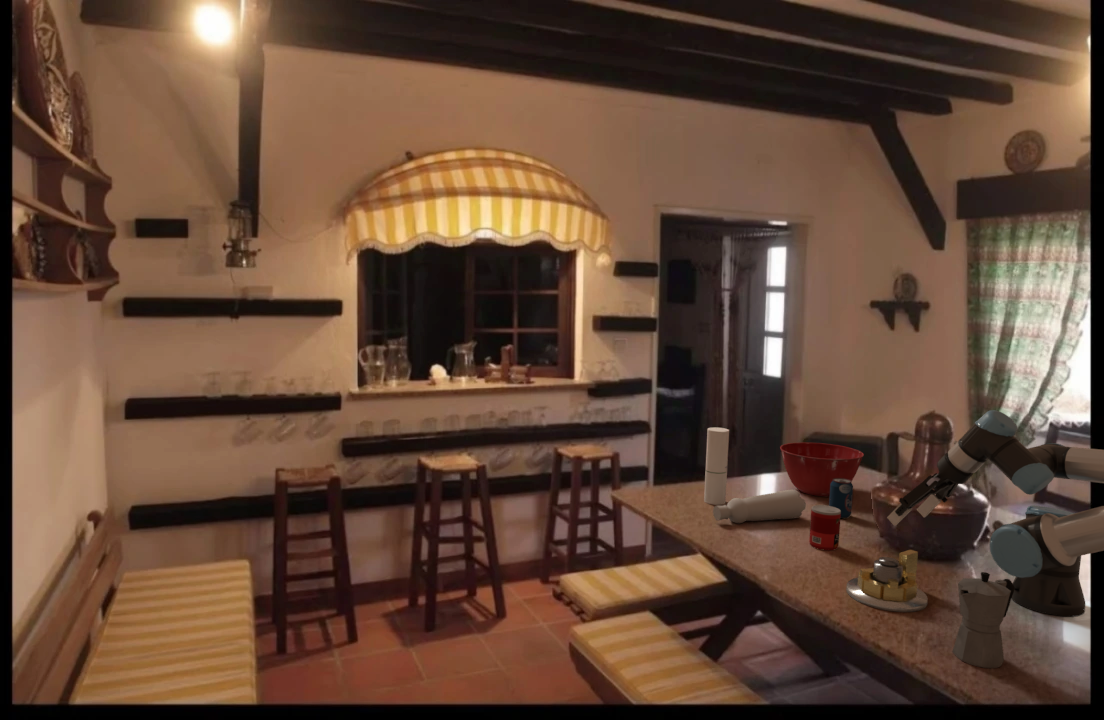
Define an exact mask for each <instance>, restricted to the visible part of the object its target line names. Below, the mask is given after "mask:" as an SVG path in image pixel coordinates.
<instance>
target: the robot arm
mask: <svg viewBox="0 0 1104 720" xmlns="http://www.w3.org/2000/svg"><path fill="white" fill-rule="evenodd" d="M1017 431H1018V426H1017V424H1016V423H1015V422H1014V420H1013V419H1012V418H1011V417H1010V416H1008V415H1007V414H1005V413H1004V412H1001V411H999V410H996V409H995V410H994V409H992V410H991V409H990V410H988V411H986V412H985V413H984V414H983V415H982V416H981V417H980V418H978V420H976V421H975V422H974V423H973V425H972V426H971V427H970V428H969V429H968V430H967V431H966V432H965V433H964V434H963V435H962V436H961V437H960V438H959V439H958V440H955V441H953V446H951V448H949V449H948V451H947V452H946V453H944V455H943V456H942V457H941V458H940V459H939V460H938V461H937V464H936V467H937V468H938V473H937V472H935V473H934V474H933V475H928V476H927V477H926V478H925V479H923V481H921V483H919V484H918V485H917V486H916V487H914V488H913V489H912V490H910V491H909V492H908V493H906V495H904V496H903V497H900V498H899V500H898V502H899V505H898V506H896V507H895V508H894V510H892V512H891V513H889V515H888V516H887V517H886V519H887V520H889V522H890V523H891V524H892V525H893V526H894V527H896V526H898V524H899V523H900V522H901V521H902V520H903V519H904V518H905V517H906V516H907V515H908V514H909V513H910V512H912V510H913V507H915V506H916V505H918V504H919V503H920V502H922V503H921V504H920V505H919V506H918V507H917V508H916V511H917V512H918V513H919V514H920V515H921V516H922V517H923V518H926V517H927V516H928V515H929V514H930V513H931V512H932V511H933V510H934V509H935V508H937V506H938V505H940V503H941V502H943V503H946V502H947V501H948V498H950V497H951V495H952V494H953V493H954V491H955V490H956V488H957V487H958V485H963V484H965V483H966V482H967V481H968V480H970V479H971V477H972V476H973V474H975V473H977V471H978V470H979V469H981V467H982V466H983V465H985V463H986V462H987V461H988V460H989V461H990V462H991V463H992V464H993V465H994V466H996V467H997V469H998V470H999V471H1000V472H1001V473H1002V474H1004V476H1005V477H1006V478H1007V479H1009V480H1010V481H1011V483H1012V484H1013V485H1014V486H1015V487H1017V488H1018V489H1020V490H1021V491H1022V492H1023V493H1024V494H1027V495H1034V494H1036V493H1038V492H1040V491H1042V490H1043V489H1045V488H1046V487H1047V486H1048V485H1049V484H1050V483H1051V482H1052V481H1054V479H1055V478H1056V479H1062V480H1074V481H1083V482H1091V483H1099V484H1104V449H1098V448H1085V447H1075V446H1065V445H1063V444H1061V443H1056V442H1055V443H1042V444H1040V445H1038V446H1037V445H1036V446H1033V447H1030V448H1028V447H1026V446H1024V444H1023V443H1021V442H1020V440H1018V438H1016V437H1015V435H1016V433H1017ZM1024 514H1025V518H1023V519H1020V520H1017V521H1014V522H1012V523H1011V522H1010V523H1004V524H1002V525H1000V527H998V528H997V529H996V530H994V531H993V532H992V534H991V536H990V540H989V551H990V554H991V557H992V559H993V561H994V562H995V564H996V566H998V567H999V568H1000V569H1001V570H1002V571H1004V572H1005V573H1007V574H1008V575H1010V576H1013V577H1014V579H1013V582H1012V583H1013V585H1014V587H1015V589H1014V593H1013V595H1012V598H1011V601H1012V600H1013V602H1015V603H1017V604H1018V605H1020V606H1022V607H1024V608H1027V609H1029V610H1032V611H1036V612H1038V613H1043V614H1048V615H1053V616H1060V617H1078V616H1080V615H1083V614H1084V613H1085V612H1086V600H1085V596H1084V592H1083V588H1082V585H1081V584H1082V583H1081V581H1080V570H1081V560H1082V556H1086V555H1089V554H1094V553H1098V552H1099V553H1100V552H1103V551H1104V505H1101V506H1097V507H1094V508H1089V509H1087V510H1082V511H1078V512H1076V513H1075V512H1071V511H1069V510H1065V509H1059V508H1055V507H1049V506H1043V505H1036V504H1035V505H1029V506H1028V507H1026V510H1025V513H1024Z"/></svg>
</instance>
